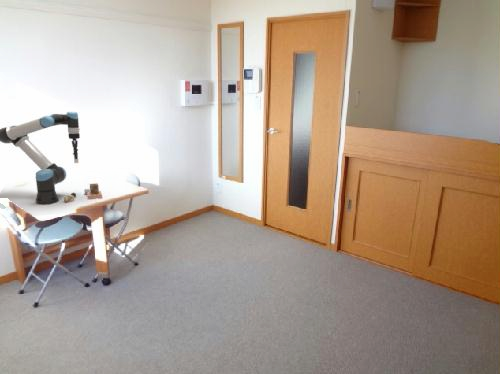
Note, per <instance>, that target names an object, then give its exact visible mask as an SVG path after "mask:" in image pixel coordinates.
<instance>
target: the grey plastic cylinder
mask: <svg viewBox="0 0 500 374" xmlns="http://www.w3.org/2000/svg"><path fill="white" fill-rule="evenodd" d="M83 191H84V196H88V194H87V192H90V188H85V189H84V190H83Z"/></svg>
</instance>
